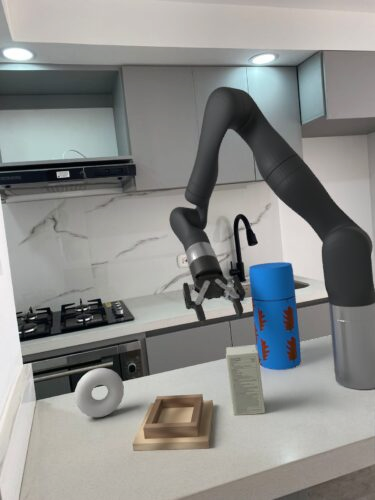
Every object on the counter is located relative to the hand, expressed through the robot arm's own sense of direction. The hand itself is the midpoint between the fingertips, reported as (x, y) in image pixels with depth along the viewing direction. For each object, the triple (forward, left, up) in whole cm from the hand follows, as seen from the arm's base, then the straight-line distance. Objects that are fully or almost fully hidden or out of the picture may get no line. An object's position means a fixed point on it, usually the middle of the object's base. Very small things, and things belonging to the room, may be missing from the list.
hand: (222, 318), depth 80 cm
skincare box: (-4, +10, -16) cm, 19 cm away
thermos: (-13, -13, -16) cm, 24 cm away
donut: (+26, +10, -16) cm, 32 cm away
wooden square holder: (+10, +15, -16) cm, 24 cm away
